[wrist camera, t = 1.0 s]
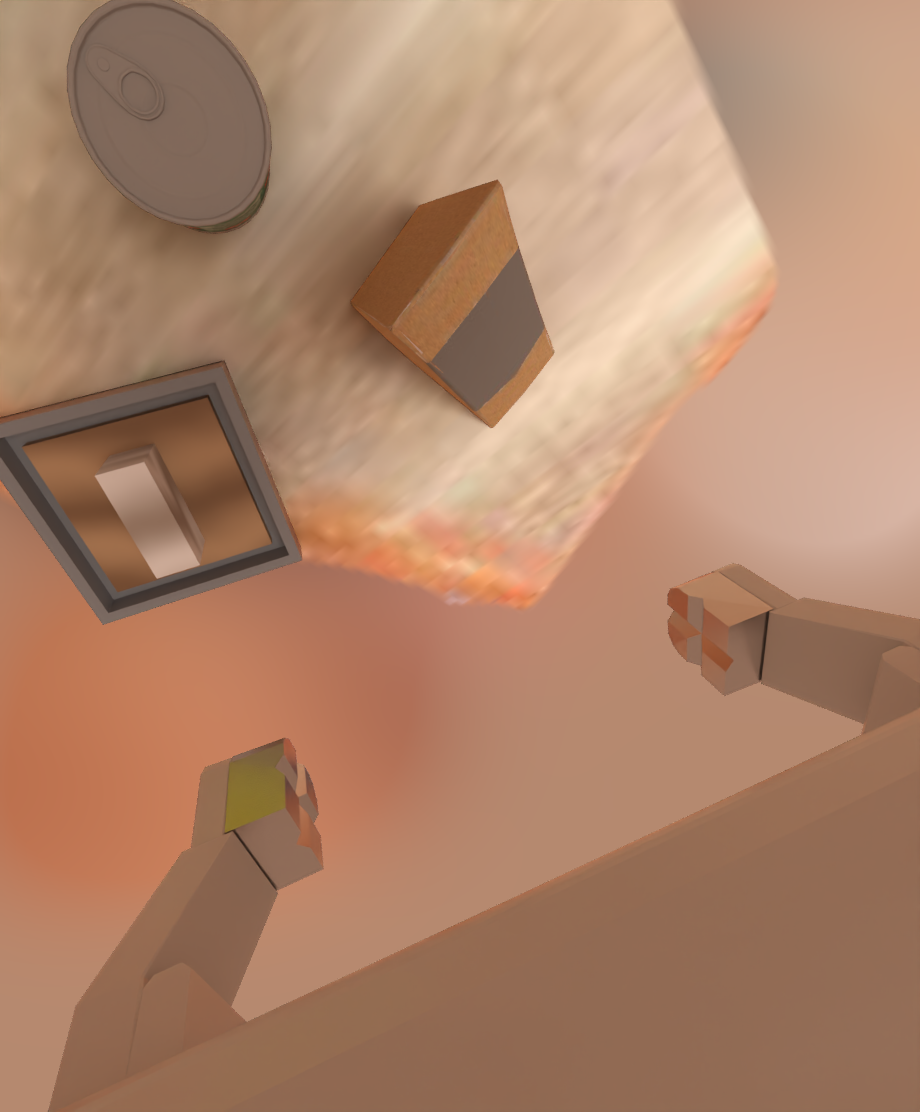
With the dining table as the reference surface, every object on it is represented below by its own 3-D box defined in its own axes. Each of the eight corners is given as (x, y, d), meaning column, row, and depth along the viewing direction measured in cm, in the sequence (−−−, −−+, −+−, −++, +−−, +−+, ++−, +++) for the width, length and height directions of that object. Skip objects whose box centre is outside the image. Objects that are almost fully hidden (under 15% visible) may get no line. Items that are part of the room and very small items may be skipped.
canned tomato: (293, 144, 34) (304, 105, 25) (233, 261, 36) (224, 265, 26) (159, 31, 30) (113, -66, 21) (100, 169, 32) (34, 136, 22)
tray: (-16, 421, 35) (-34, 432, 33) (224, 360, 38) (221, 366, 36) (110, 606, 44) (103, 624, 42) (300, 546, 46) (302, 560, 44)
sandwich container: (491, 432, 47) (573, 497, 34) (346, 305, 39) (386, 331, 26) (557, 351, 45) (669, 389, 33) (421, 201, 37) (501, 177, 25)
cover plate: (26, 442, 36) (-4, 467, 32) (208, 394, 38) (202, 412, 34) (120, 585, 43) (105, 621, 38) (271, 538, 45) (273, 567, 40)
